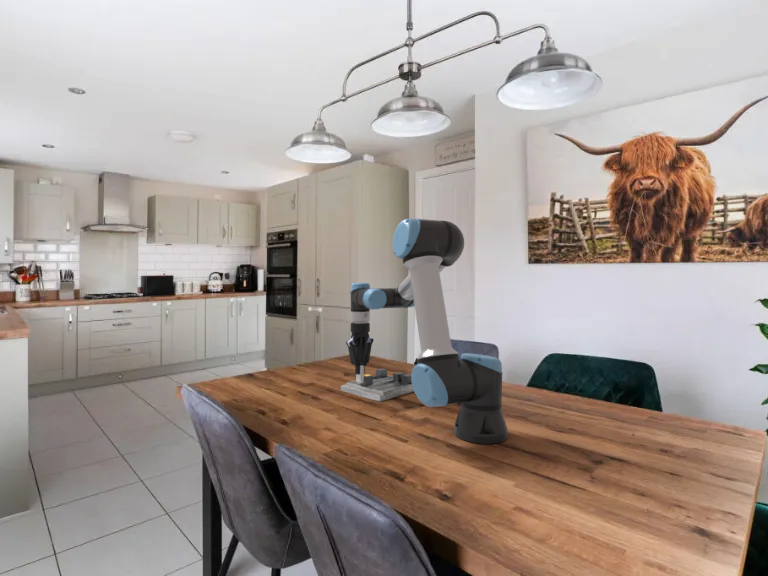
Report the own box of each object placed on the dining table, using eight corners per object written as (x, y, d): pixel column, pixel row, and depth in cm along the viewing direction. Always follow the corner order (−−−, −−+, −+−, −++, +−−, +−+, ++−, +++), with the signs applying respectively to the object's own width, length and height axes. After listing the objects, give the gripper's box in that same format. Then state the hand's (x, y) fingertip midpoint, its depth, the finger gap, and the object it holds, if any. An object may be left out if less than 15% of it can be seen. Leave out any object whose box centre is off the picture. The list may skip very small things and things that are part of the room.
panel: (379, 401, 158) (379, 385, 158) (340, 390, 173) (340, 375, 173) (424, 388, 177) (424, 374, 177) (385, 379, 192) (385, 366, 192)
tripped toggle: (365, 387, 169) (365, 376, 169) (360, 386, 171) (360, 375, 171) (372, 385, 172) (372, 375, 172) (367, 384, 174) (367, 373, 174)
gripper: (354, 324, 161) (354, 386, 162) (378, 321, 171) (378, 380, 171) (341, 322, 166) (341, 383, 167) (365, 320, 176) (365, 377, 177)
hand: (360, 382), depth 169 cm, fingers closed
